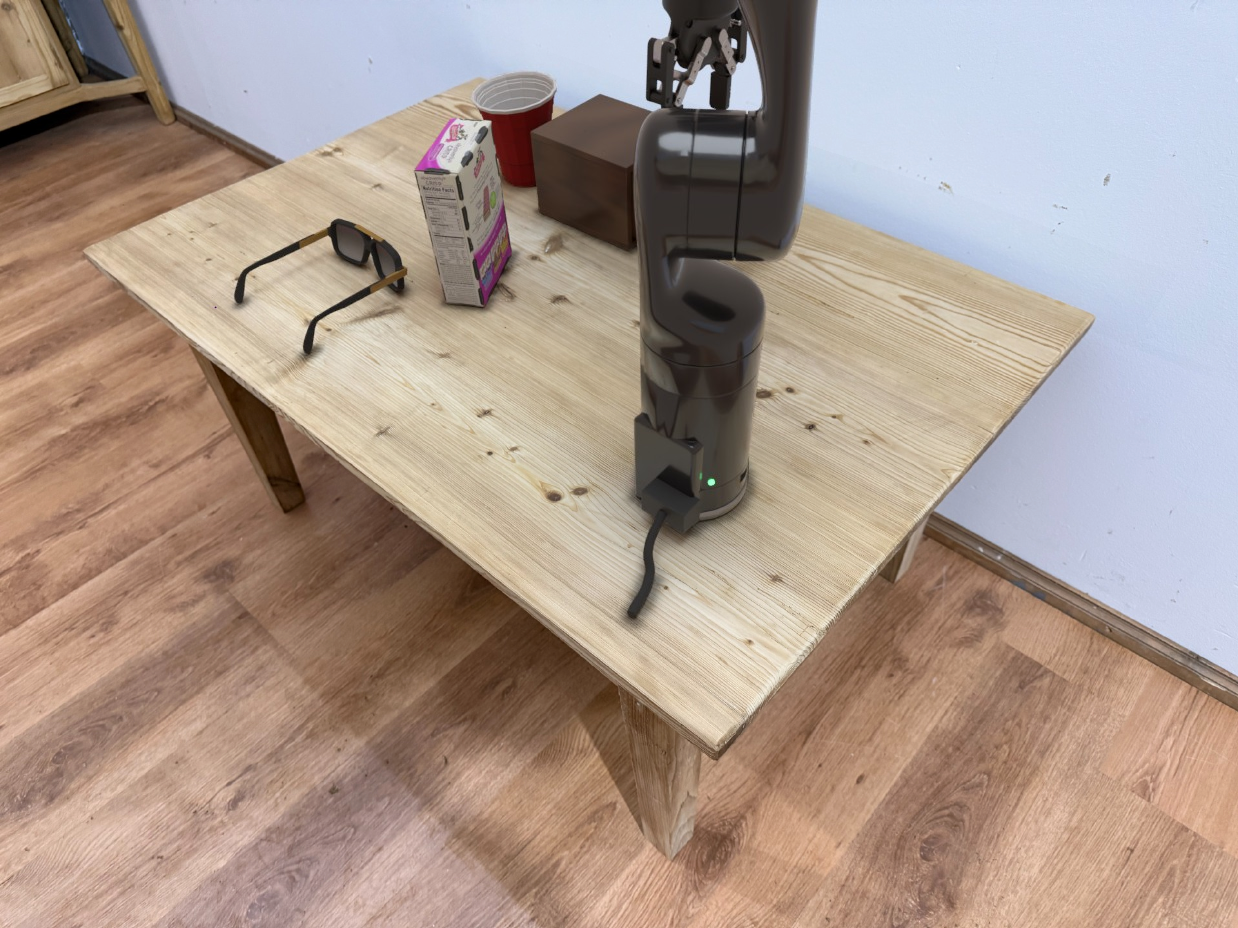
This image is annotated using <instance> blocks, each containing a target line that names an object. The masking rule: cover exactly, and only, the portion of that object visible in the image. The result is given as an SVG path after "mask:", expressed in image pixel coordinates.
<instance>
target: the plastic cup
mask: <svg viewBox="0 0 1238 928" xmlns="http://www.w3.org/2000/svg"><path fill="white" fill-rule="evenodd" d="M557 90H558V85H557V79H555V78H554V77H552V75H550V74H549V73H545V72H542V71H538V70H517V71H511V72H504V73H502V74H499V75H496V76H492V77H490V78H488V79H486V80H485V81H483V82H481V83H479V84H478V85H477V86H476V87H475V88H474V90H473V91H472V92H471V103H472V105H474V106H475V107H476V108H477V110H478V112H479V114H480V116H481V118H482V120H487V121H491V123H492V131H493V137H494V143H495V149H496V156H497V161H498V165H499V167H500V170H501V174H502V176H503V177H504V181H505V182H506V183H507V184H508V185H510V186H513V187H518V188H530V187H535V186H536V178H535V169H534V160H533V151H532V142H531V131H532V130H534V129H536V128H538V127H540V126H542V125H543V124H545V123H547V122H549V121H551V120H553V113H554V104H555V95H556V93H557V92H558V91H557Z"/></svg>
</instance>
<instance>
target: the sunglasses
mask: <svg viewBox="0 0 1238 928" xmlns="http://www.w3.org/2000/svg"><path fill="white" fill-rule="evenodd" d="M327 237H329V238H330V241H331V245H332V248H333V251H334V252H335V254H337V256H339V257H340V258H341V259H344V260H346V261H348V262H350V263H353V264H355V265H364V264H367V263H368V261H369V259H370V256H371V259H372V261H373V264H374V267H375V271H376V273H377V275H378V277H379V278H380V279H379V280H377V281H375V282H373V283H371V284H369V285H368V286H366V287H364V288H362V289H360V290H359V291H357V292H355V293H353V294H352V295H350V296H348V297H346V298H344V299H342V300H341V301H340V302H337V303H335V304H334V305H331V306H330V307H328V308H327V309H325V310H323V311H321V312H320V313H319V314H317V315H315V316H314V317H313V318H312V319H311V321H310V323H309V325H308V327H307V330H306V333H305V335H304V338H303V342H302V350H303V352H304V353H305V354H306V355H310V354H311V353H312V351H313V346H314V341H315V334H316V327H317V324H318V322H320V321H321V320H322V319H324V318H326V317H328V316H329V315H331V314H334V313H336V312H338V311H340V310H343V309H346V308H348V307H349V306H351V305H354V304H355V303H357V302H359V301H361V300H363V299H365V298H366V297H368V296H370V295H372V294H374V293H376V292H378V291H380V290H381V289H383V288H385V287H390V288H391V289H392V290H393V291H395V292H399V291H402V290H404V289H405V277H406V276H408V267H407V266H405V265H403V263H402V257H401V256H400V253H399V252H398V251H397V249H395V247H394V246H393V245H392V244H390V242H388V241H387V239H385V238H383V237H382V236H379V235H378V234H377V233H374V232H373V231H371V230H369V229H367V228H365V227H364V226H362V225H361V224H357V223H354V222H352V221H350V220H346V219H342V218H335V219H334V220H332V221H330V225H329V226H327V227H325V228H323V229H321V230H319V231H317V232H315V233H312V234H310V235H307V236H304V237H303V238H301V239H299V240H297V241H295V242H293V243H291V244H289V245H287V246H285V247H283V248H280V249H279V250H277V251H275V252H273V253H271V254H269V255H267V256H265V257H263V258H262V259H259V260H258V261H255V262H254V263H252V264H250V265H249V266H246V267H245V268H244V269H242V271H241V272H240V274H239V276H238V279H237V282H236V285H235V288H234V293H233V298H234V301H235V303H236V304H238V305H239V304H241V303H243V301H244V299H245V290H246V289H245V288H246V280H247V276H248V274H249V273H250V272H252V271H254V270H256V269H257V268H260V267H261V266H264V265H267V264H270V263H272V262H276V261H278V260H281V259H282V258H284V257H286V256H289V255H290V254H293V253H295V252H297V251H299V250H302V249H304V248H306V247H308V246H309V245H310V246H311V245H312V244H314V243H317V242H318V241H320V240H322V239H324V238H327Z"/></svg>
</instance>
